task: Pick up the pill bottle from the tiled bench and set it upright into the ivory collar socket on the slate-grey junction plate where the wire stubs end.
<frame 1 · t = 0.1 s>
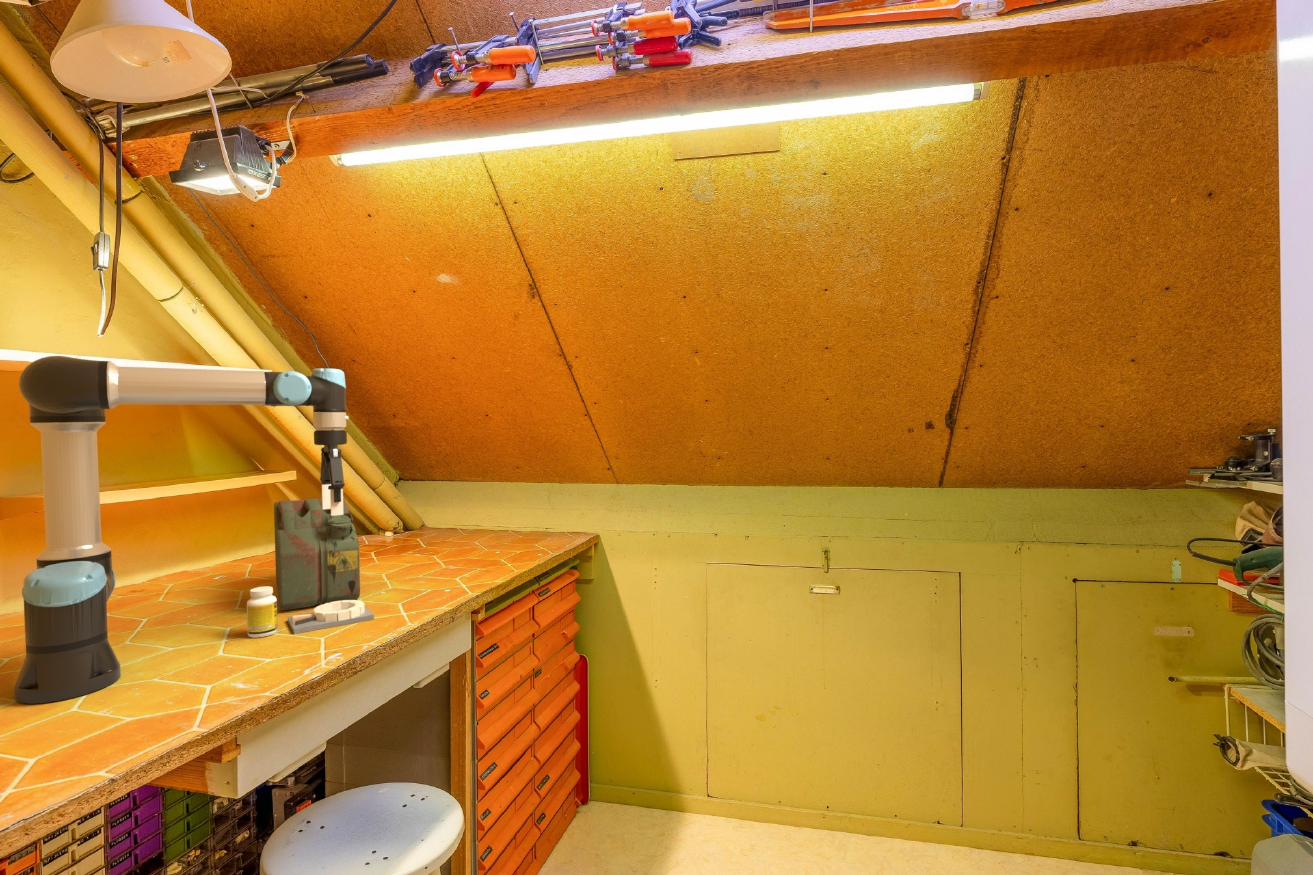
hand: (332, 512, 162), 28 cm above the workbench, fingers open, 13 cm apart
junction plate: (331, 620, 162), on the workbench
fuel can: (316, 594, 186), on the workbench
pill bottle: (262, 634, 152), on the workbench
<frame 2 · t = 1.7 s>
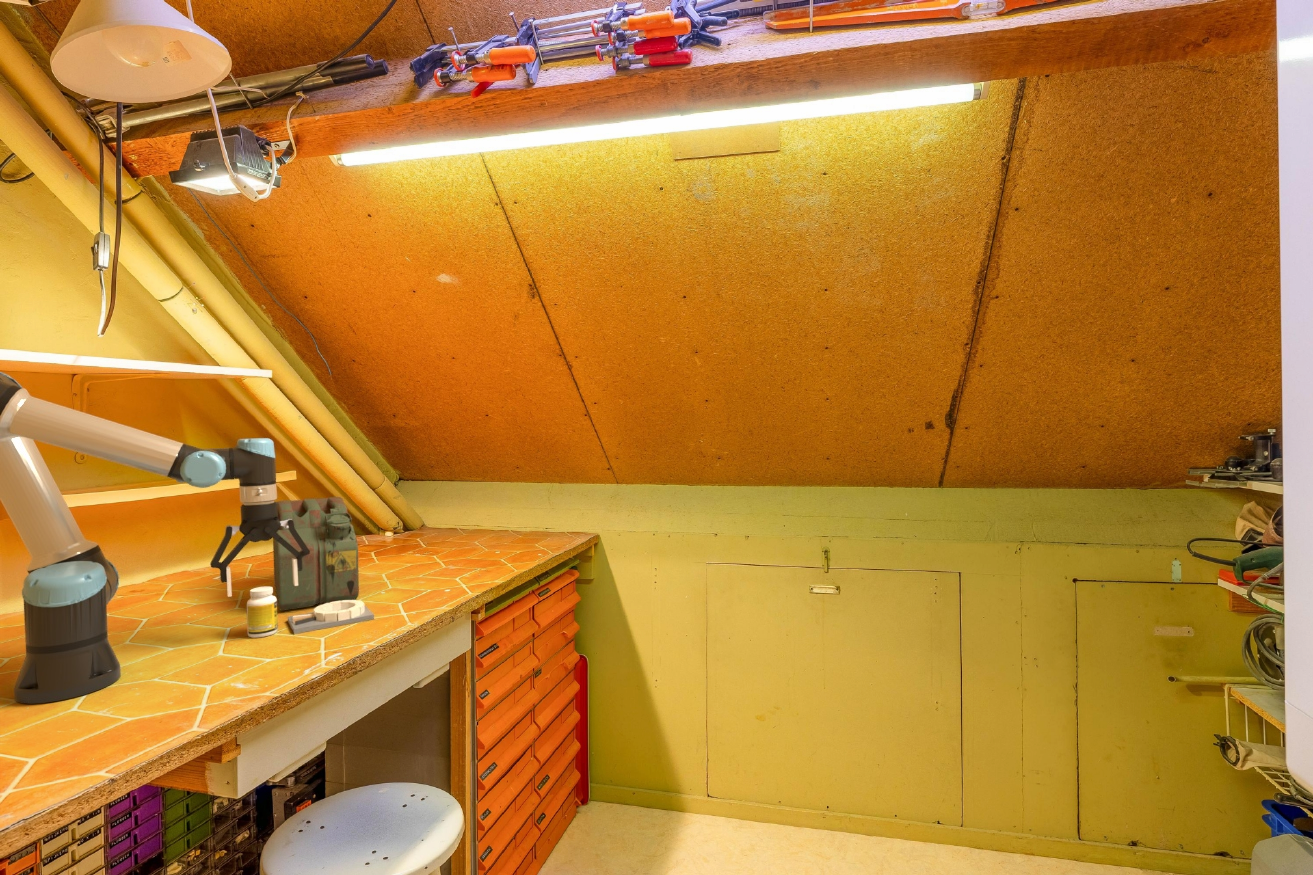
hand: (263, 589, 152), 11 cm above the workbench, fingers open, 13 cm apart
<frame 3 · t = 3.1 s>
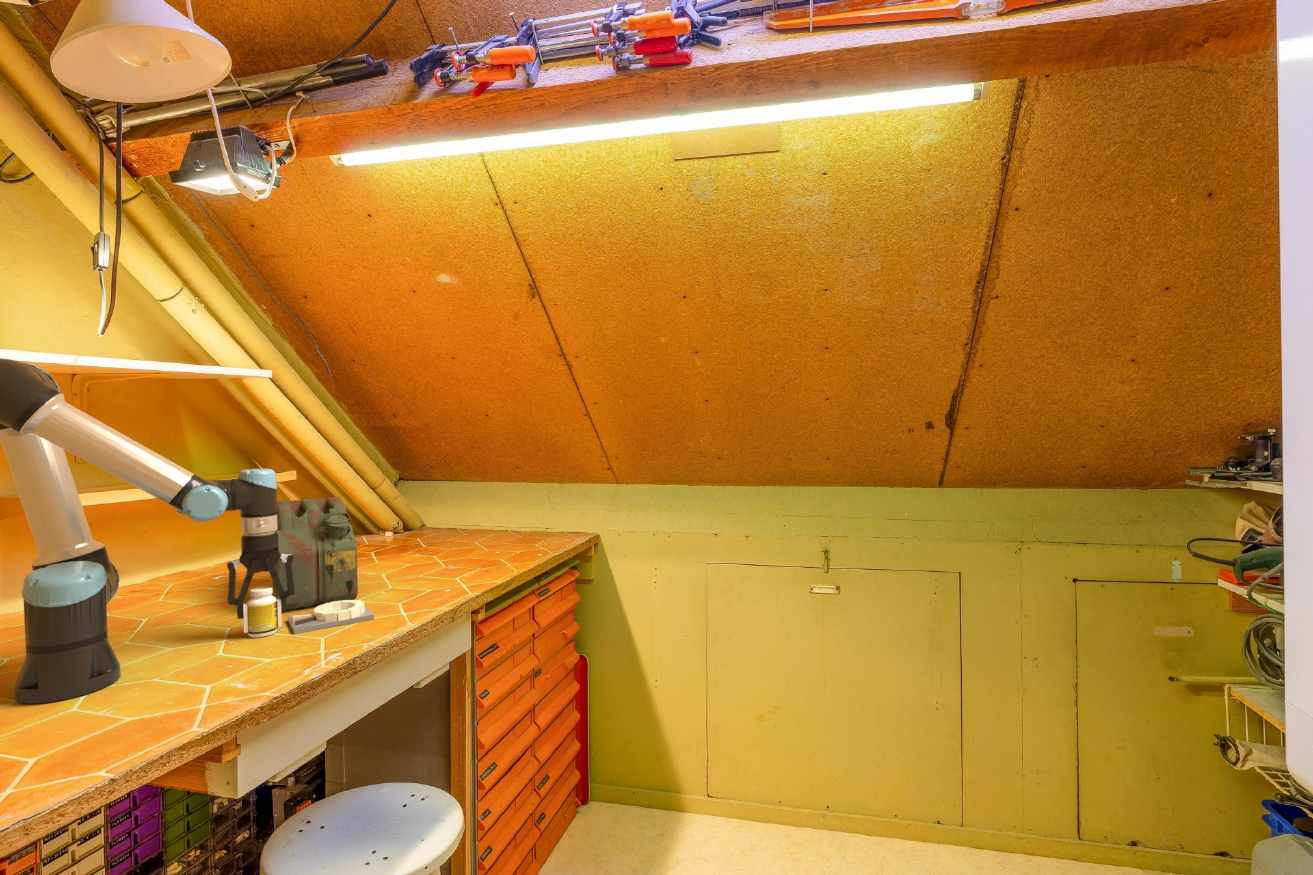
hand: (262, 627, 152), 1 cm above the workbench, fingers closed on pill bottle, 6 cm apart
pill bottle: (263, 634, 152), on the workbench, touching gripper
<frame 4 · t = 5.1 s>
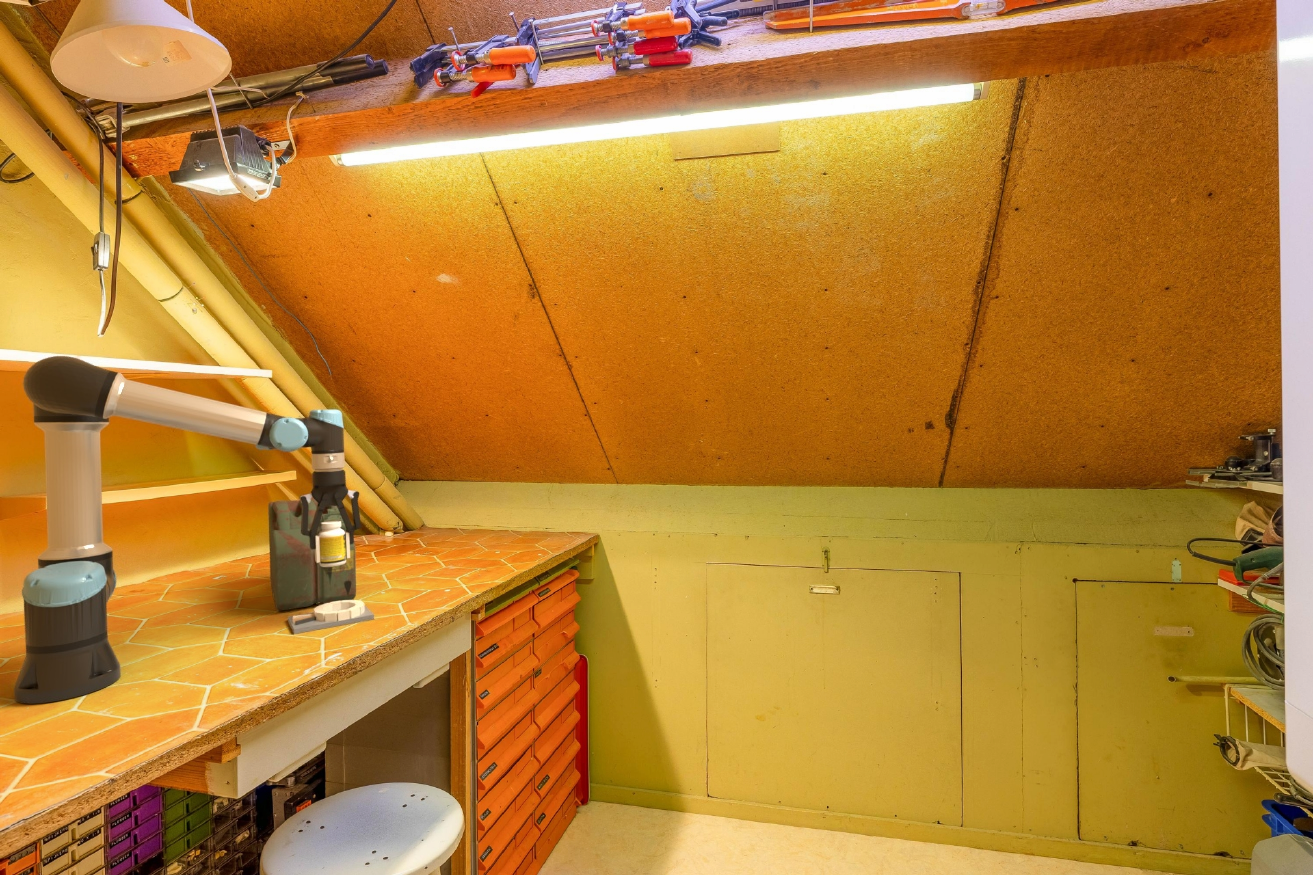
hand: (332, 559, 161), 16 cm above the workbench, fingers closed on pill bottle, 6 cm apart
pill bottle: (333, 565, 161), point 14 cm above the workbench, touching gripper
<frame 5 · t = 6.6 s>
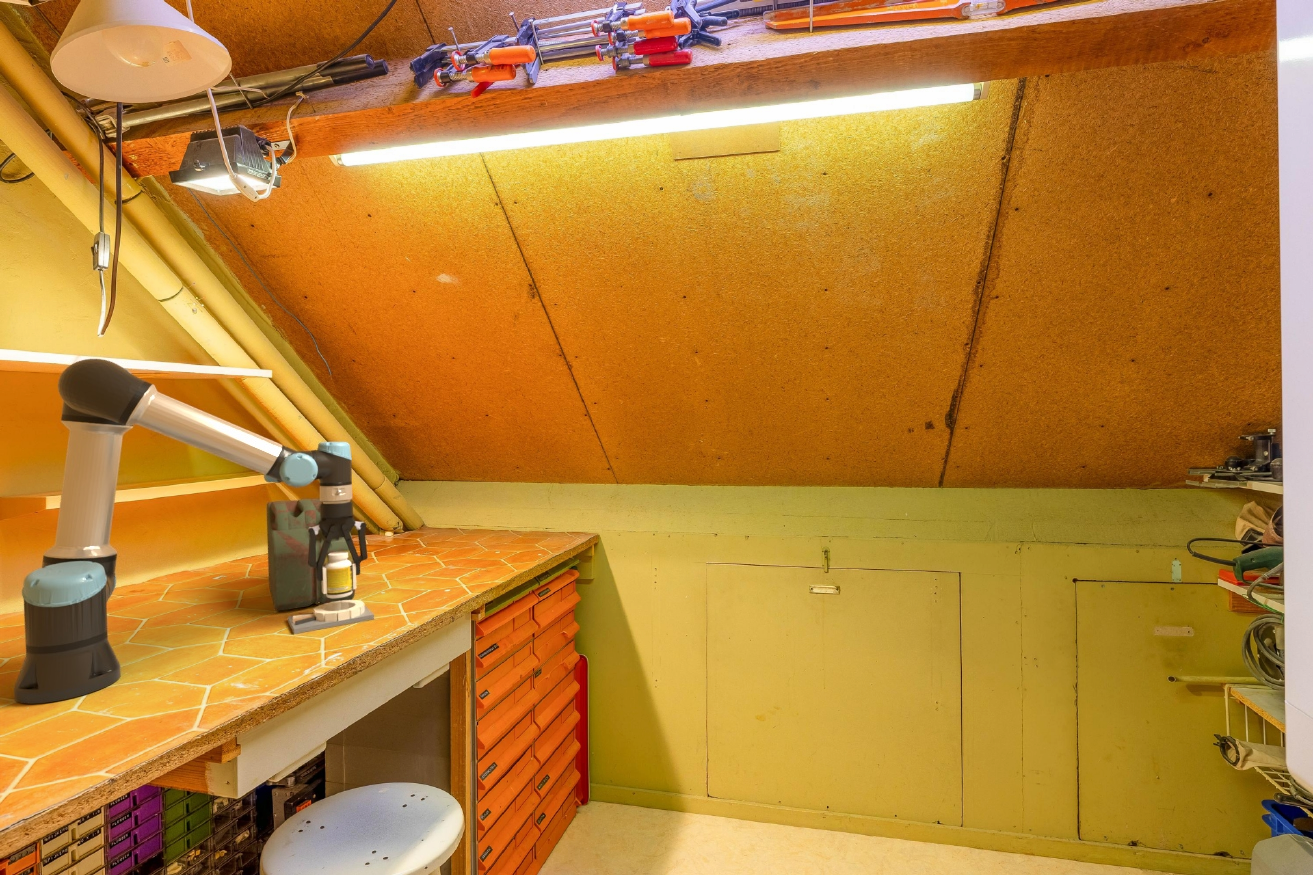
hand: (339, 590, 163), 7 cm above the workbench, fingers closed on pill bottle, 6 cm apart
pill bottle: (339, 596, 163), point 6 cm above the workbench, touching gripper
when the fingers open (5 cm above the workbench, at t = 7.4 s): pill bottle drops 2 cm, resting on junction plate.
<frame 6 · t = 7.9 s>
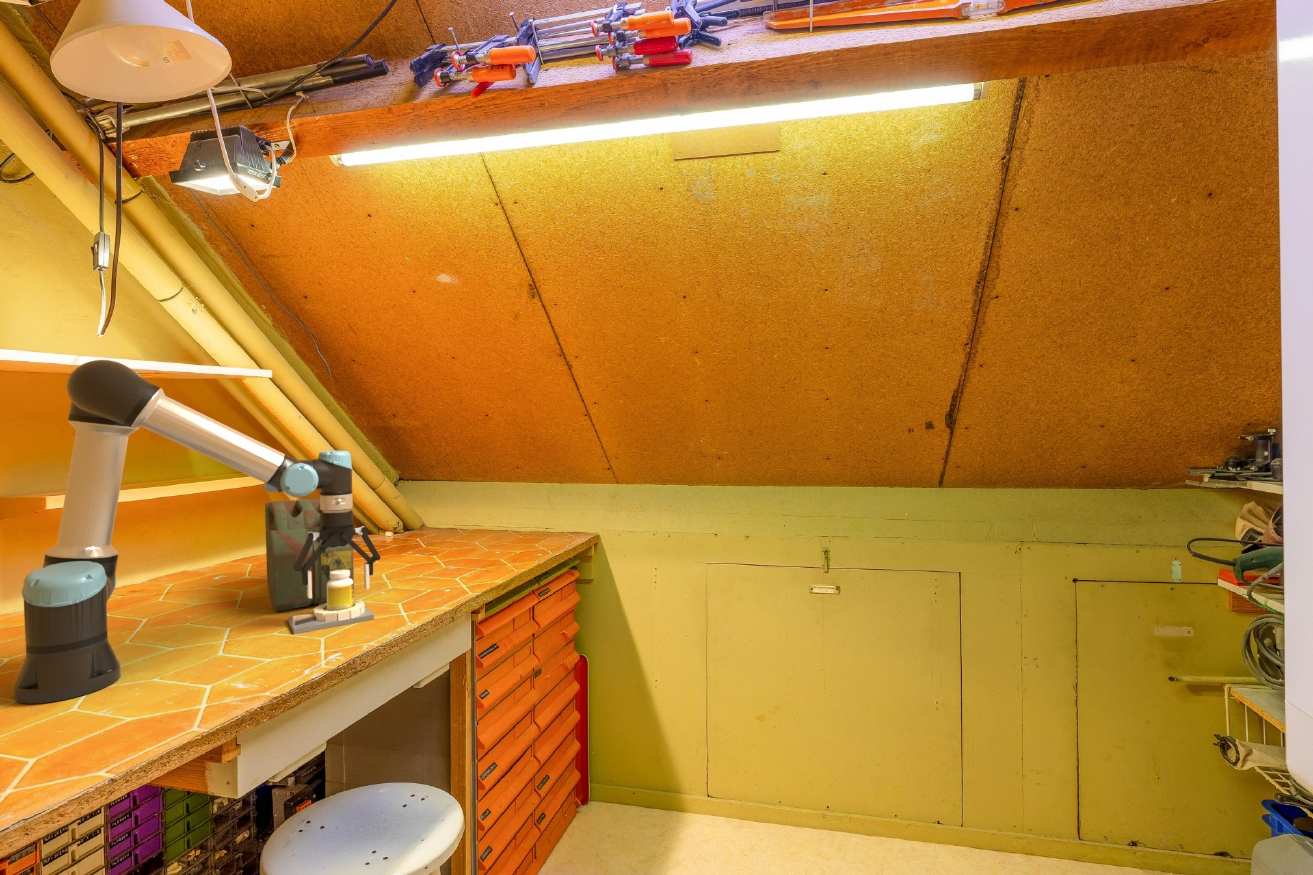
hand: (338, 592, 163), 7 cm above the workbench, fingers open, 13 cm apart
pill bottle: (340, 614, 163), point 1 cm above the workbench, touching junction plate
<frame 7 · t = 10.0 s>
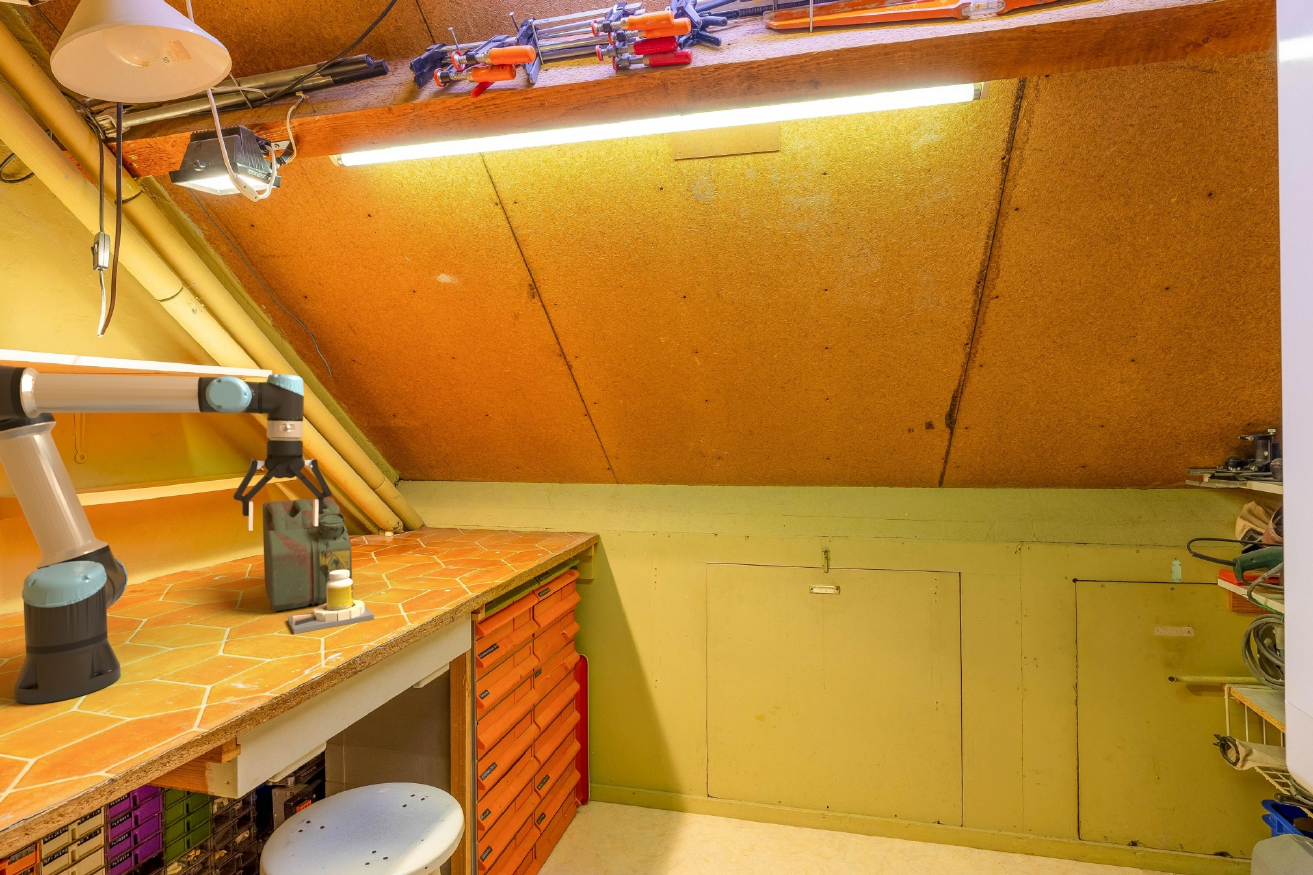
hand: (283, 527, 151), 26 cm above the workbench, fingers open, 13 cm apart
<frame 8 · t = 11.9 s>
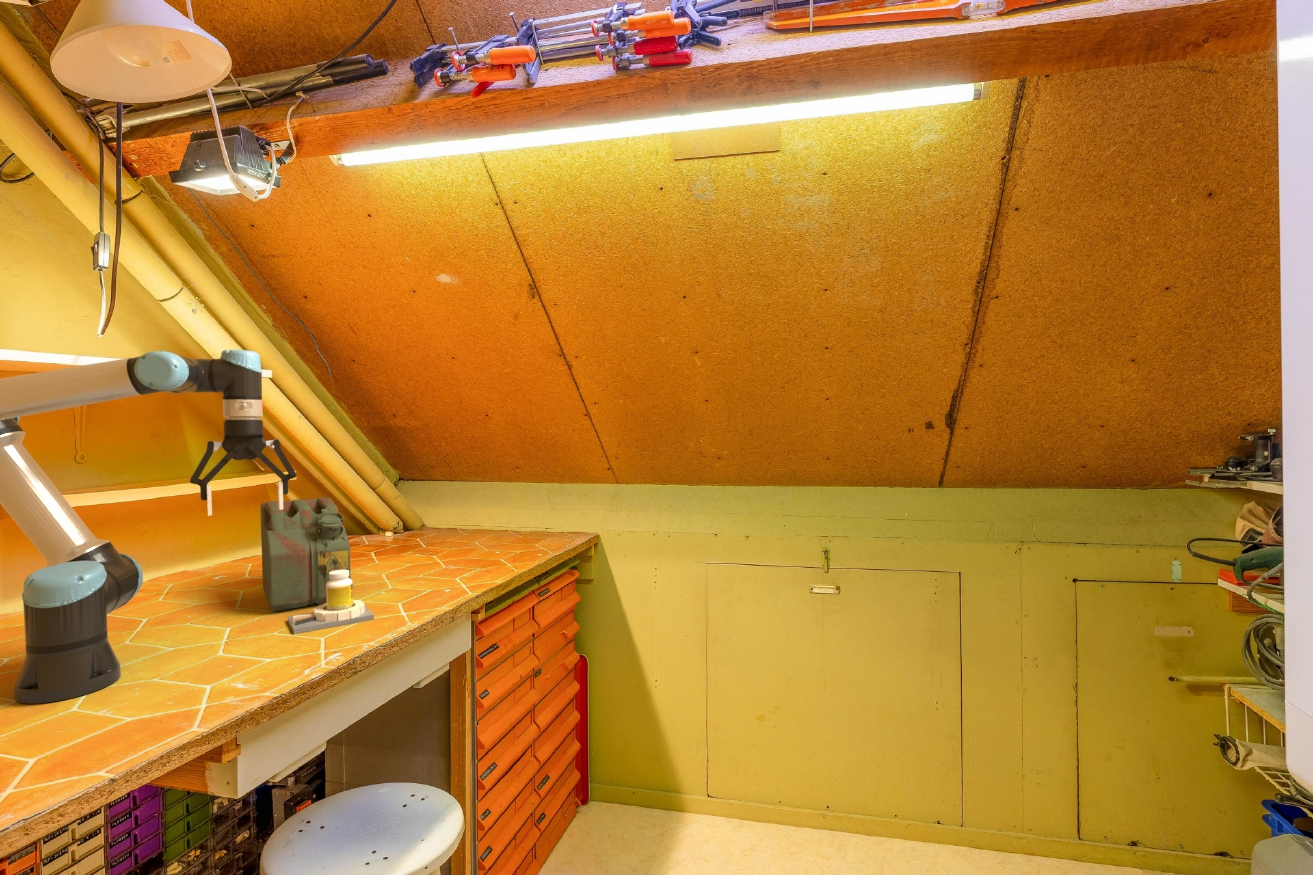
hand: (246, 512, 143), 31 cm above the workbench, fingers open, 13 cm apart
at the end: pill bottle 0.2 cm from the target spot on the junction plate, point 1.0 cm above the junction plate's base; pill bottle tilted 0°; the gripper is holding nothing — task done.
